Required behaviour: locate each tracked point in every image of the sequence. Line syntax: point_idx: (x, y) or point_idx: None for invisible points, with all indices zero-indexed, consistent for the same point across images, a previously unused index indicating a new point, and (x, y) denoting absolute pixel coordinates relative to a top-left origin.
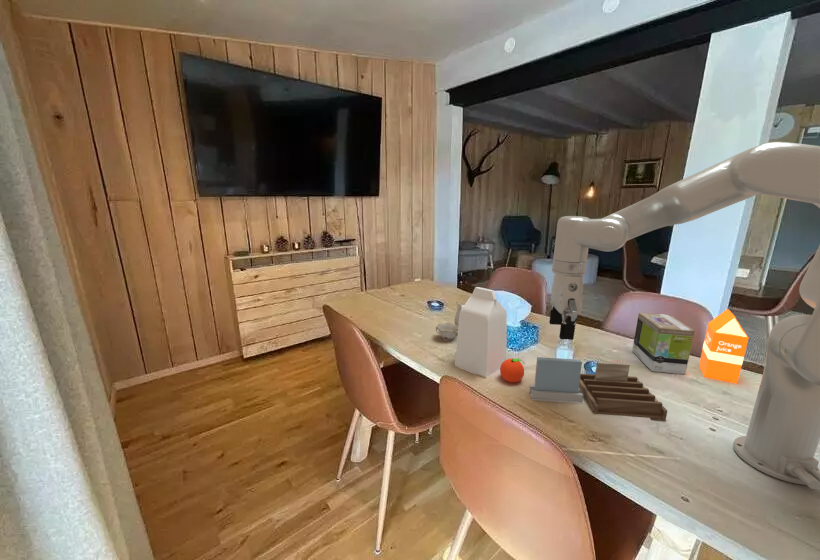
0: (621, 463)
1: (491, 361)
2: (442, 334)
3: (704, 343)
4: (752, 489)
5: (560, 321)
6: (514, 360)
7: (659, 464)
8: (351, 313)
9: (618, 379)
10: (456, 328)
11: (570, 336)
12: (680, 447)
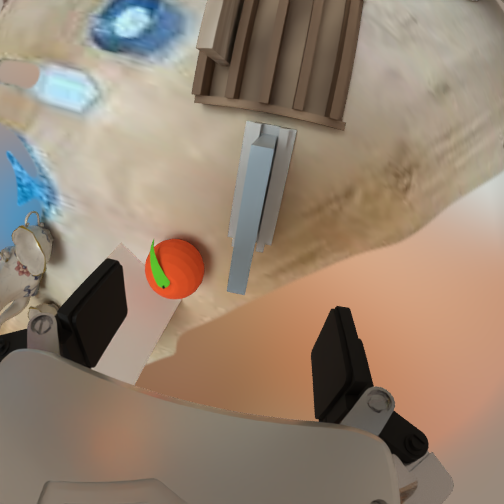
0: (456, 177)
1: (153, 309)
2: None
3: None
4: (497, 45)
5: (112, 281)
6: (164, 282)
7: (466, 118)
8: None
9: (236, 6)
10: (35, 307)
11: (359, 341)
12: (436, 44)
